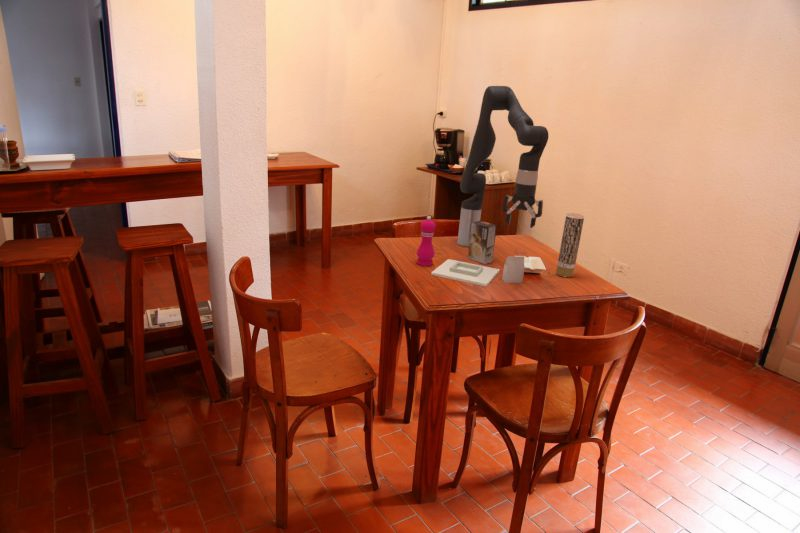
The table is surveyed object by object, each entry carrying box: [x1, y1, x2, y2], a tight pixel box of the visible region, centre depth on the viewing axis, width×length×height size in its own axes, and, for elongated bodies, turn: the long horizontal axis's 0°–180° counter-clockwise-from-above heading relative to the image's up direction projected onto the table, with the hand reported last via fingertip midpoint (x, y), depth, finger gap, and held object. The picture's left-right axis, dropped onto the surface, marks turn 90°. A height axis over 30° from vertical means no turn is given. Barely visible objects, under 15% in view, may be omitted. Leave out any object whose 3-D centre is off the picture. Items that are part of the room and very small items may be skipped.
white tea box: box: [501, 255, 525, 284], centre depth 206 cm, size 4×7×10 cm, turn 103°
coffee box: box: [467, 220, 498, 265], centre depth 227 cm, size 9×6×16 cm
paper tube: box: [555, 212, 585, 278], centre depth 214 cm, size 7×7×25 cm
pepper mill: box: [416, 215, 437, 267], centre depth 216 cm, size 7×7×20 cm
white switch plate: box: [430, 258, 501, 287], centre depth 212 cm, size 20×22×2 cm
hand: (519, 225), depth 200 cm, fingers open, 8 cm apart
